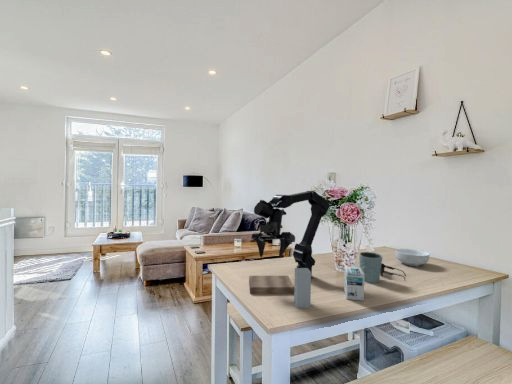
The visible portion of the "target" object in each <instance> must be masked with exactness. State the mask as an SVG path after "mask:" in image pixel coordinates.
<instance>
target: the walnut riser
mask: <svg viewBox="0 0 512 384" xmlns="http://www.w3.org/2000/svg"><path fill="white" fill-rule="evenodd" d="M291 280H292V279H291V278H290V276H289V275H249V276H248V284H249V285H248V286H249V294H294V284H293V283H292V281H291Z"/></svg>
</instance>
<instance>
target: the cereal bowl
mask: <svg viewBox="0 0 512 384" xmlns="http://www.w3.org/2000/svg"><path fill="white" fill-rule="evenodd" d="M394 254H395V258H396V260H398V261H399V262H401V263H403V264H404V265H407V266H411V267H420V266H421V265H425V264H427V263H428V262H429V260H430V253H429V252H427V251H424V250H423V251H422V250H419V249H413V248H398V249H397V248H396V249H395V250H394Z"/></svg>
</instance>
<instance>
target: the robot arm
mask: <svg viewBox="0 0 512 384" xmlns="http://www.w3.org/2000/svg"><path fill="white" fill-rule="evenodd" d="M304 201H305V202H306V201H307V202H308V204H309V205H310V206H311V207H310V212H311V214H310V218H309V220H308V223H307V226H306V228H305V231H304V233H303V234H304V235H303V236H302V238H301V241H300V242H299V243H297V242H296V236H295V234H293V233H292V232H290V231H282V232H281V230H282V229H283V225H282V221H283V216H285V215H286V216H287V212H286V211H285V209H286V208H289V207H292V205H294V204H295V203H296V204H297V203H300V202H304ZM330 206H331V205H330V203H329V200H327V199H325V198H324V197H323V196H321V195H320V194H318V193H317V191H315V190H307V191H303V192H298V193H293V194H275V195H273V197H272V199H270V200H269V201H266V200H264V199H259V202H257V203H256V205H255V206H254V208H253V213H254V214H255V215H257V216H259V217H261V218H264V219H268V221H266V223H265V224H261V225H260V224H259V232H253V233H252V234H251V240H253V241H254V242H256V244H257V247H258V254H259V257H260V258H262V257H263V256H264V252H265V247H266V240H279V243H280V246H279V253H278V257H279V258H280V259H281V258H282V257H283V255H284V254H285V252H286V250H287V249H288V247H289V246H290V245H292V244H293V243H294V244H295V245H294V247H293V250H292V257H293V258H294V261H295V263H297V265H296V268H308V269H309V270H310V271H311V279H313V278H314V277H313V276H312V274H313V273H312V269H313V267H314V266H315V264H316V259H314V257H313V255H312V254H313V249H312V248H313V247H312V244H313V241H314V239H315V237H316V233H317V231H318V228H319V226H320V223H321V220H322V218H323V217H324V216H325V215H326V214H327V213H328V211H329V209H330ZM295 242H296V243H295Z"/></svg>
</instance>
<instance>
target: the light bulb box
mask: <svg viewBox="0 0 512 384" xmlns="http://www.w3.org/2000/svg"><path fill="white" fill-rule="evenodd" d="M343 269H344V275H343V276H344V278H343V291H344V295H345V298H346V300H354V301H364V300H365V282H364V276H365V274H364V272H363V271H362V269H361V267H360V265H351V264H349V265H348V264H344V267H343Z"/></svg>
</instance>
